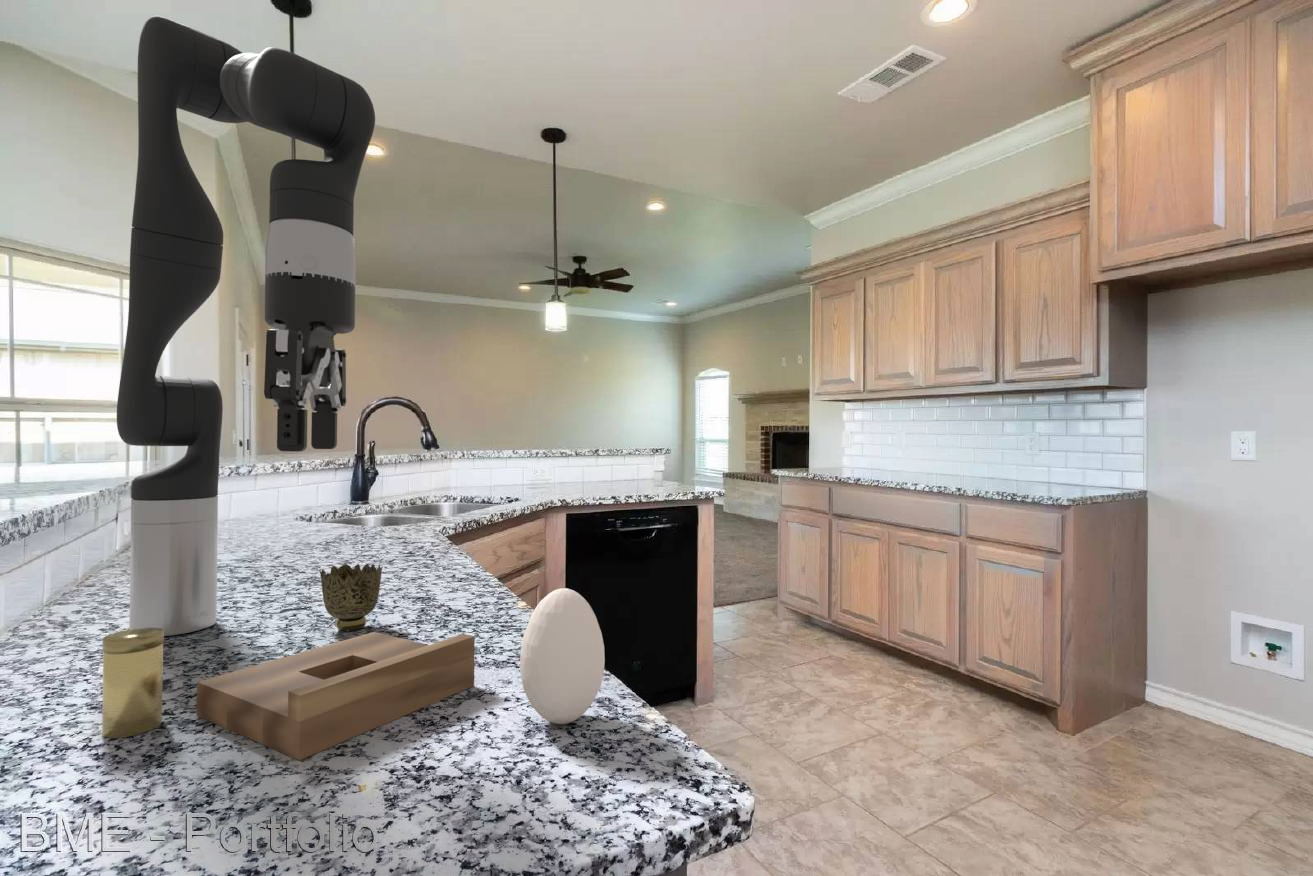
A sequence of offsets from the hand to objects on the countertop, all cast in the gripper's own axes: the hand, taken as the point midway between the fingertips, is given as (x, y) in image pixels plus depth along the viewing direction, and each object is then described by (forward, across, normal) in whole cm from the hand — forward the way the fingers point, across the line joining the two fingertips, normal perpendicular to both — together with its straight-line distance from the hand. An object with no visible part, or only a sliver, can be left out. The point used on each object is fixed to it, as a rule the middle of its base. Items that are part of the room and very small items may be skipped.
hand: (309, 450), depth 61 cm
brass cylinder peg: (+24, +3, -13) cm, 27 cm away
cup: (+24, -25, -3) cm, 35 cm away
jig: (+24, 0, +3) cm, 24 cm away
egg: (+24, +8, +24) cm, 35 cm away
